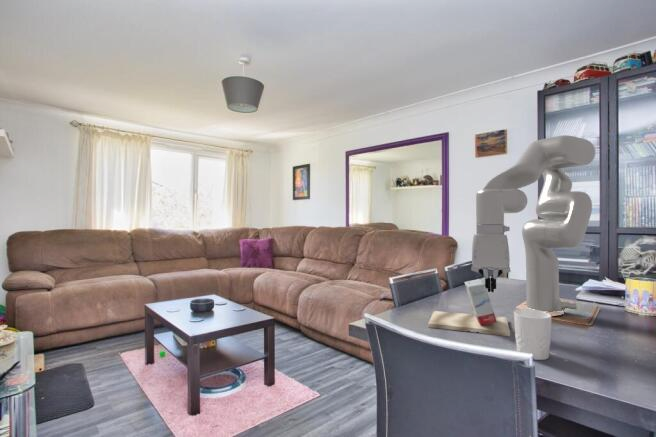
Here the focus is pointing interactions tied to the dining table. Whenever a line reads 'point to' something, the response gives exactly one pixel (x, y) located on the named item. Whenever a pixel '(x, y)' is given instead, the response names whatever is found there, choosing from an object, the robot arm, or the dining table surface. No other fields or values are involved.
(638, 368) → the dining table surface
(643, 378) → the dining table surface
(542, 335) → the white cup
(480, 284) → the ink box
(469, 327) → the birch board
